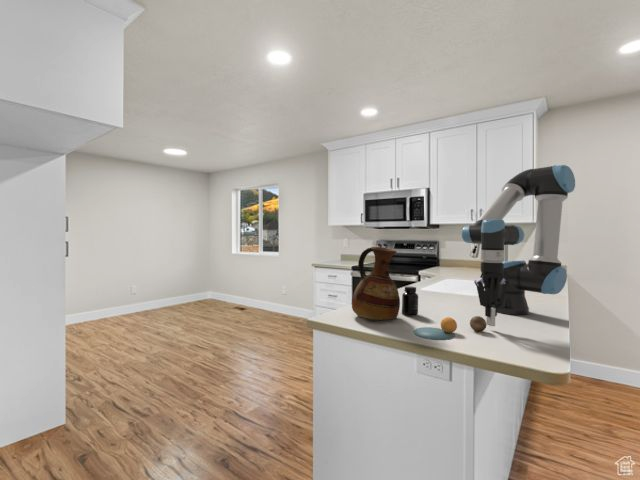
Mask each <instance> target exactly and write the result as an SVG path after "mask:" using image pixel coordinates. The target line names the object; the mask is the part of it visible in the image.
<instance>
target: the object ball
mask: <svg viewBox="0 0 640 480" xmlns="http://www.w3.org/2000/svg"><path fill="white" fill-rule="evenodd" d="M457 328H458V324H457V322H456V320H455V319H454V318H453V317H450V316H449V317H448V316H447V317H443V319H442V320H441V321H440V329H442V330H443V331H445V332H446V333H454V332H456V330H457Z"/></svg>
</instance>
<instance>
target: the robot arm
mask: <svg viewBox="0 0 640 480" xmlns="http://www.w3.org/2000/svg"><path fill="white" fill-rule="evenodd" d="M575 188H576V178H575V174H574V171H573V170H572V169H571V168H570V166H568V165H566V164H561V165H560V164H559V165H558V164H557V165H556V164H555V165H550V166H546V167H545V166H544V167H538V168H537V167H536V168H530V169H526V170H523V171H521V172H519V173H518V174H516V175H514V176H513V177H512V178H510V179H509V180H508V181H507V182H506V183H505V184H504V185H503V187H502V188H501V193H499V195H498V196H497V197H496V198H495V199H494V201H492V203H491V204H490V205H489V206H488V208H487V209H486V210H485V211H484V212H483V213H482V215H481V216H480V217H478V219H477V220H476V221H475V223H474V224H473V225H472V224H470V225H465V226H464V227H463V228H462V230H461V238H462V241H463V242H465V243H467V244H473V245H477V244H478V245H479V244H480V245H481V246H480V247H481V249H480V260H481V262H480V272H481V274H480V276H479V279H475V280H474V282H473V283H474V284H475V286H476V289H477V294H478V295H477V296H478V299H479V300H478V301H479V304H480V306H482V307H484V312H485V313H484V315H485V316H484V317H486V326H490V327H496V317H497V316H498V313H500V314H505V315H512V316H521V315H522V316H524V315H528V314H529V313H530V307H529V306H528V302H527V298H526V295H525V294H526V291H527V292H530V293H531V292H533V293H538V294H539V293H540V294H544V295H558V294H559V293H561V292H562V291H563V289H564V287H565V286H566V282H567V278H568V274H567V269H566V268H565V267H563V266H562V261H560V259H559V258H558V254H559V246H560V245H559V244H560V234H561V233H560V232H561V224H562V223H561V222H562V214H563V213H562V212H563V211H562V210H563V202H564V201H566V200H567V199H568V196H569V194H570V193H572V192H573V191H574V190H575ZM528 196H534V199H535V200H536V201H537V210H536V211H537V212H536V222H535V223H536V224H535V233H534V244H533V255H532V257H531V258H529V259H528V262H526V261H525V260H507V261H504V260H505V259H504V258H505V246H516V245H518V244H520V243H521V242H523V241H524V238H525V232H524V230H523V229H522V227H521V226H518V225H515V224H509V225H508V224H506V223H505V220H504V218H505V217H506V215H508V213H509V212H510V211H511V210H512V208H513V207H514V206H516V204H517V203H518V202H521V201H522V200H523V199H524V198H526V197H528ZM505 224H506V225H505Z"/></svg>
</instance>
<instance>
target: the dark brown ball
mask: <svg viewBox="0 0 640 480" xmlns="http://www.w3.org/2000/svg"><path fill="white" fill-rule="evenodd" d="M469 326H470V328H471V329H472V330H473V331H475V332H480V333H482V332H484V331H485V329H486V328H487V320H486V319H485V318H484V317H482V316H478V315H477V316H472V318H471V319H470V320H469Z"/></svg>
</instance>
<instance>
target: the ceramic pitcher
mask: <svg viewBox="0 0 640 480" xmlns="http://www.w3.org/2000/svg"><path fill="white" fill-rule="evenodd" d="M370 253H373V254H374V267H373V269H372V270H371V273H370V274H366V272H365V264H364V263H365V259H366V257H367V256H368V254H370ZM396 253H398V251H397V250H395V249H390V248H387V247H380V246H377V247H376V246H374V245H373V246H371V247H367V248H366V249H365V250H363V251H362V253H360V256H359V258H358V262H357V263H358V265H357V266H358V270H359V275H360V282H358V284H357V285H356V288H355V290H354V292H353V294H352V299H351V309H352V311H353V313H354V314H355V315H356V316H358V317H360V318H362V319H365V320H372V321H387V320H392V319H396V318H397V317H398V315H399V314H400V313H399V312H400V307H401V306H400V305H401V298H400V293H399V290H398V287H397V285H396V283H395V281H394V280H393V279H392V278H391V277H390V271H389V270H390V269H389V268H390V265H391V259H392V257H393V256H395V254H396Z"/></svg>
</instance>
